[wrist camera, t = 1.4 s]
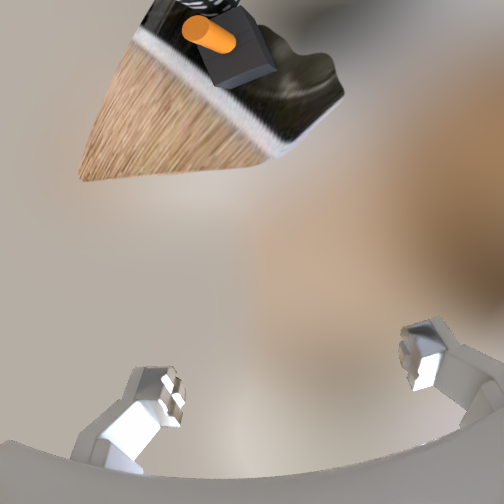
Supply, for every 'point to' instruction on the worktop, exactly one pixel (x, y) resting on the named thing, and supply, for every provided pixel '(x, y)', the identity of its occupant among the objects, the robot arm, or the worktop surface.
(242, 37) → the holder
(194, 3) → the spotted tube
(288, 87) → the worktop surface
